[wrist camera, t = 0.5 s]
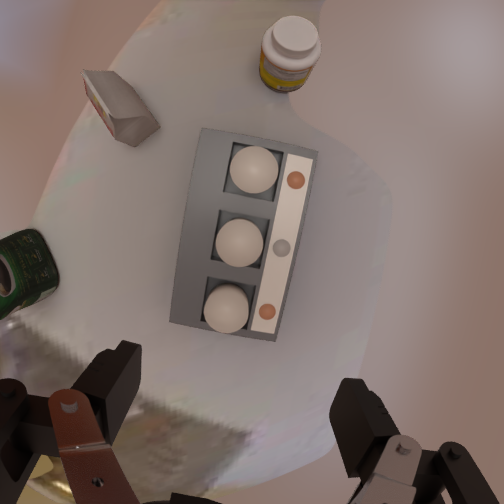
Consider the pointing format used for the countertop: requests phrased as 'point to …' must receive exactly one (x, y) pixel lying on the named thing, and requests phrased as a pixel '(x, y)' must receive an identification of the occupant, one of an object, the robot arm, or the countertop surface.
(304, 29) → the supplement bottle
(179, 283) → the button board
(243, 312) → the button
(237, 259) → the middle button
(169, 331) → the countertop surface
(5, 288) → the coffee jar
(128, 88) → the grey carton box
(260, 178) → the button
